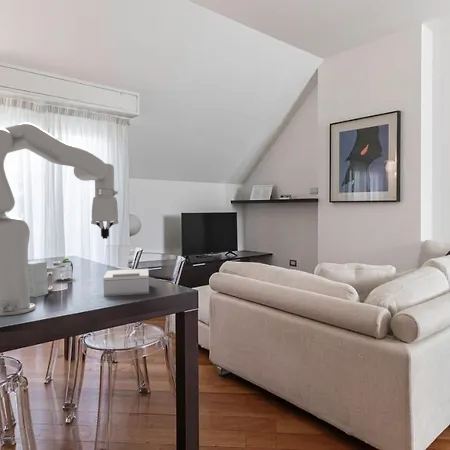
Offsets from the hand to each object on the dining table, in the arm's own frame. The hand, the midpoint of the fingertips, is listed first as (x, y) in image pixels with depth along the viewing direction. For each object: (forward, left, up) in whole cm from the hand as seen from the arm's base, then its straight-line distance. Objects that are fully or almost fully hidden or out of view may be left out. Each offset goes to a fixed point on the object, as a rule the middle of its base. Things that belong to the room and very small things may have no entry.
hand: (105, 238), depth 161 cm
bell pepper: (+29, +22, -22) cm, 42 cm away
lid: (-4, -9, -15) cm, 18 cm away
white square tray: (-4, -9, -21) cm, 23 cm away
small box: (-2, +27, -22) cm, 35 cm away
